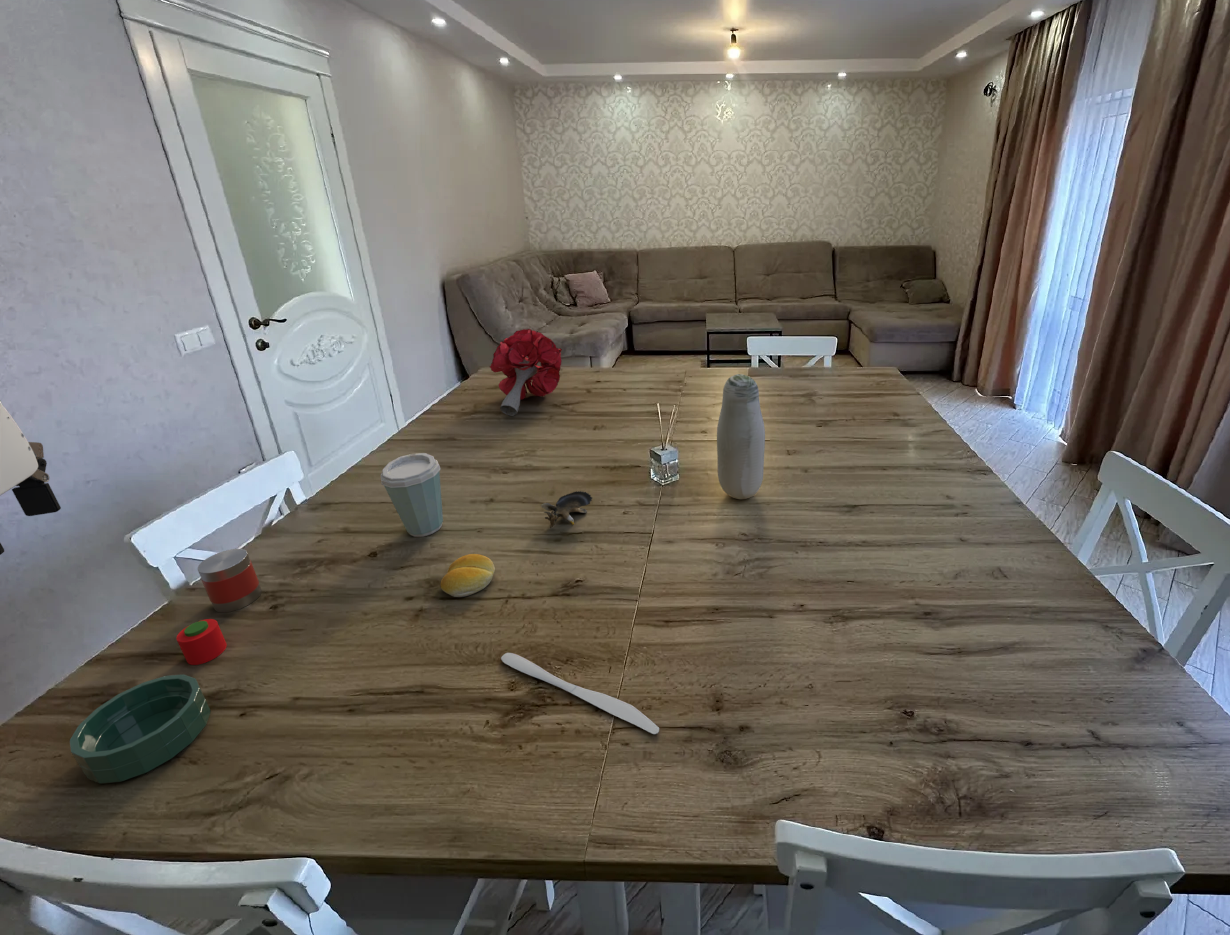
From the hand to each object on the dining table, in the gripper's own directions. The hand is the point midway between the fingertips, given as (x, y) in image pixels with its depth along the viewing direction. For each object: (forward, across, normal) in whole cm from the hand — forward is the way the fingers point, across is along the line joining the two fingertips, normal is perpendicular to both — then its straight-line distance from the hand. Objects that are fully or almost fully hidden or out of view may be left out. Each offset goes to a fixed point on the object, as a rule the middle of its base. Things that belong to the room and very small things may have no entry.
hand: (16, 533), depth 67 cm
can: (+26, -16, +10) cm, 32 cm away
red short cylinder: (+26, -4, +10) cm, 28 cm away
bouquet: (+26, -95, +63) cm, 117 cm away
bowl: (+26, +12, +10) cm, 30 cm away
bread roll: (+26, -6, +47) cm, 54 cm away
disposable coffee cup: (+26, -28, +38) cm, 54 cm away
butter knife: (+26, +24, +61) cm, 71 cm away
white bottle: (+26, -16, +104) cm, 108 cm away
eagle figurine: (+26, -20, +66) cm, 74 cm away
